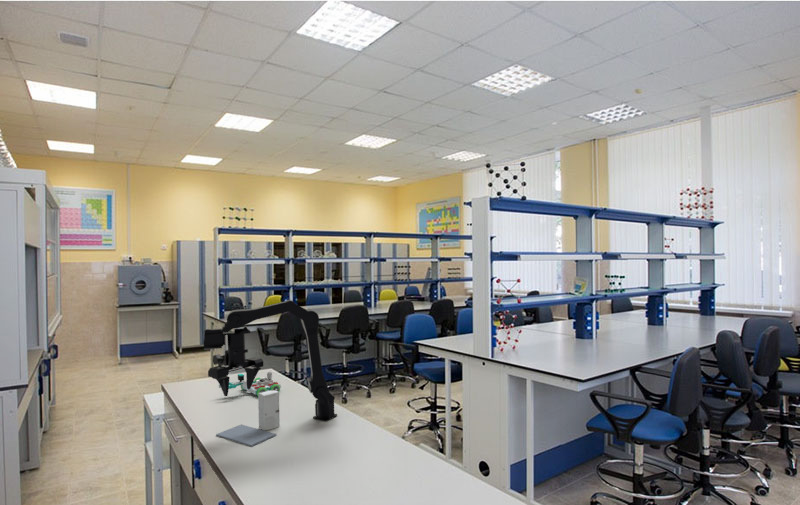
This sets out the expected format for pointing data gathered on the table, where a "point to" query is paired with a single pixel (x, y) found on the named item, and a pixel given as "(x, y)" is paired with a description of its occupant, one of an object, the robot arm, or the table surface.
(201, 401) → the table surface
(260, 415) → the skincare box
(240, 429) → the blue-gray mat
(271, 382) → the robot kit
